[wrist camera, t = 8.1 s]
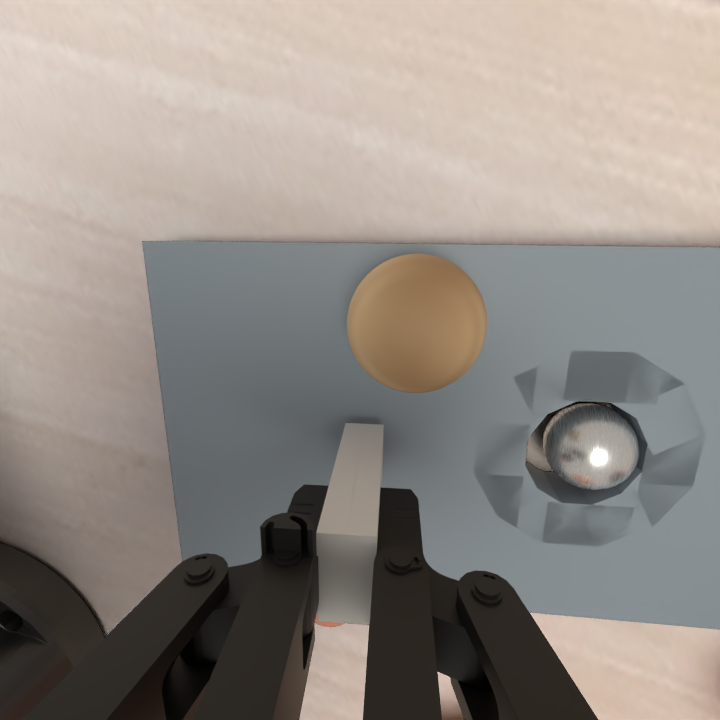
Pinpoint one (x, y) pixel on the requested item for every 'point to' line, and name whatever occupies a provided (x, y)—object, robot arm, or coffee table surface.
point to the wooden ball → (416, 323)
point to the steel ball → (591, 446)
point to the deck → (458, 412)
